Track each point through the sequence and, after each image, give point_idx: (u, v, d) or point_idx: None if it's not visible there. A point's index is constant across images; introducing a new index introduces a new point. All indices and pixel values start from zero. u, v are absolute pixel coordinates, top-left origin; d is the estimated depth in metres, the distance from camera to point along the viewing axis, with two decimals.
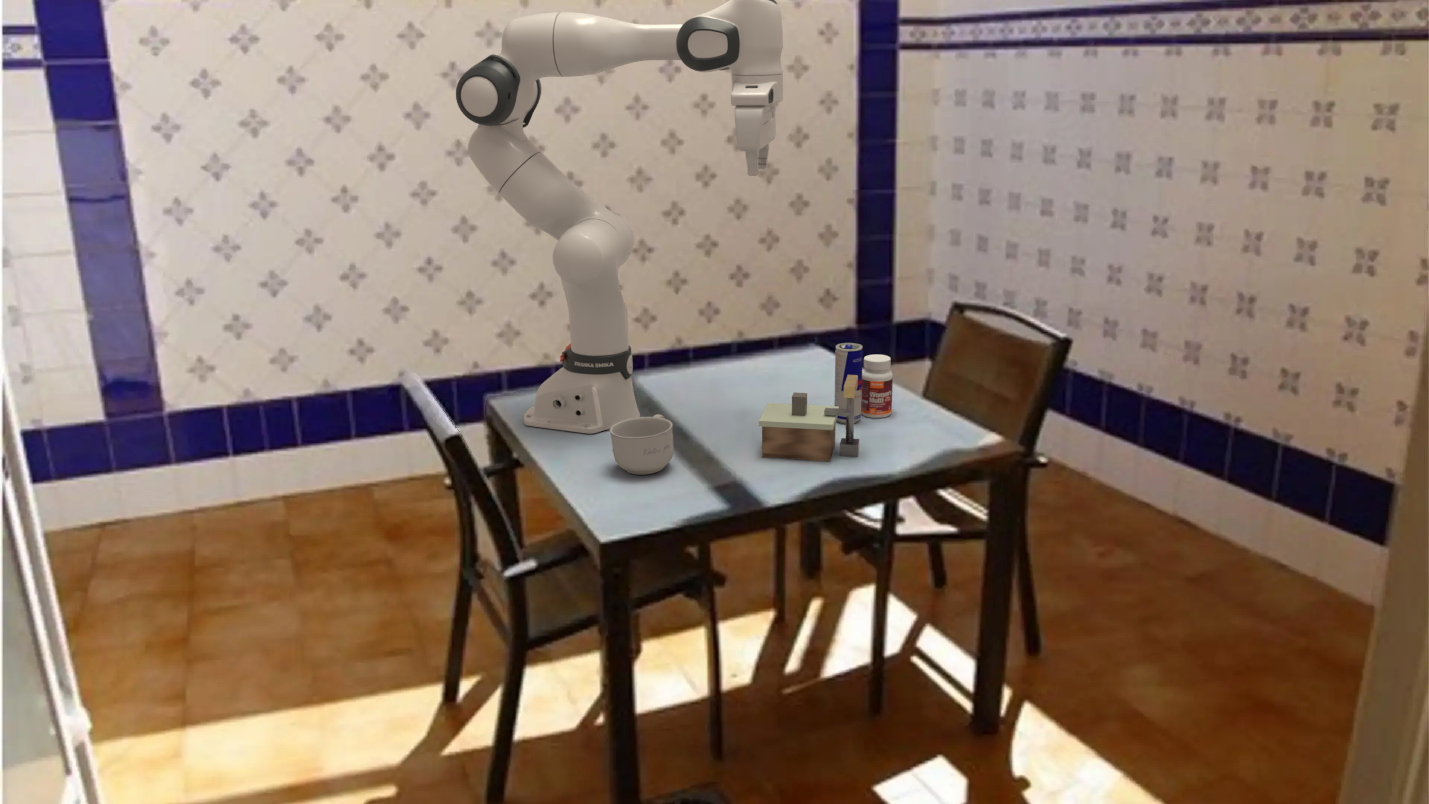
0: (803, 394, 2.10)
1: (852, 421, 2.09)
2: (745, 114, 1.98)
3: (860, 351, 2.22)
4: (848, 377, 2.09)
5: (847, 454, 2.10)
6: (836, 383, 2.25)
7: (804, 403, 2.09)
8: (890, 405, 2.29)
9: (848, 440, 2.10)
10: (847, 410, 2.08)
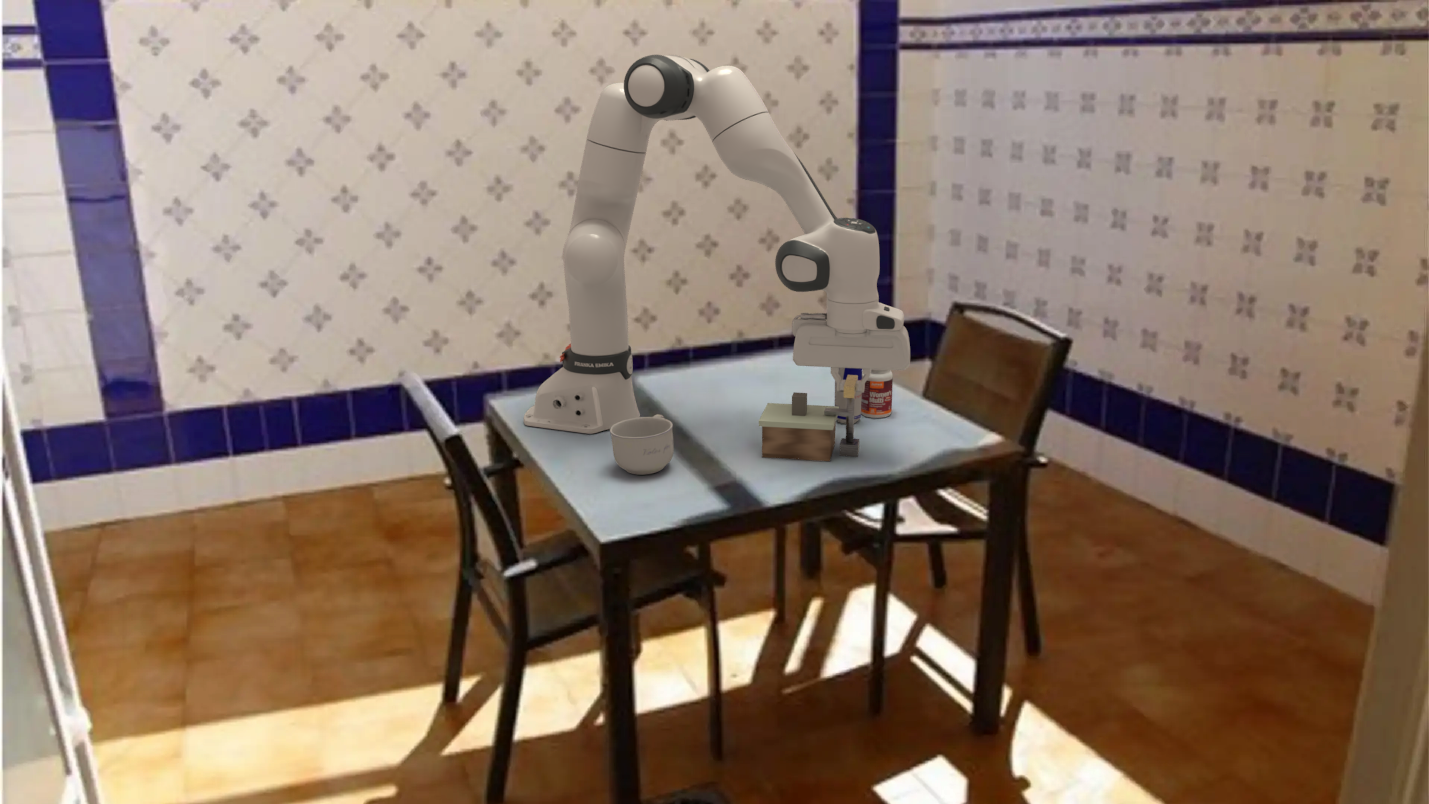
0: (803, 394, 2.10)
1: (852, 421, 2.09)
2: (906, 334, 2.02)
3: None
4: (848, 377, 2.09)
5: (847, 454, 2.10)
6: (836, 383, 2.25)
7: (804, 403, 2.09)
8: (890, 405, 2.29)
9: (848, 440, 2.10)
10: (847, 410, 2.08)
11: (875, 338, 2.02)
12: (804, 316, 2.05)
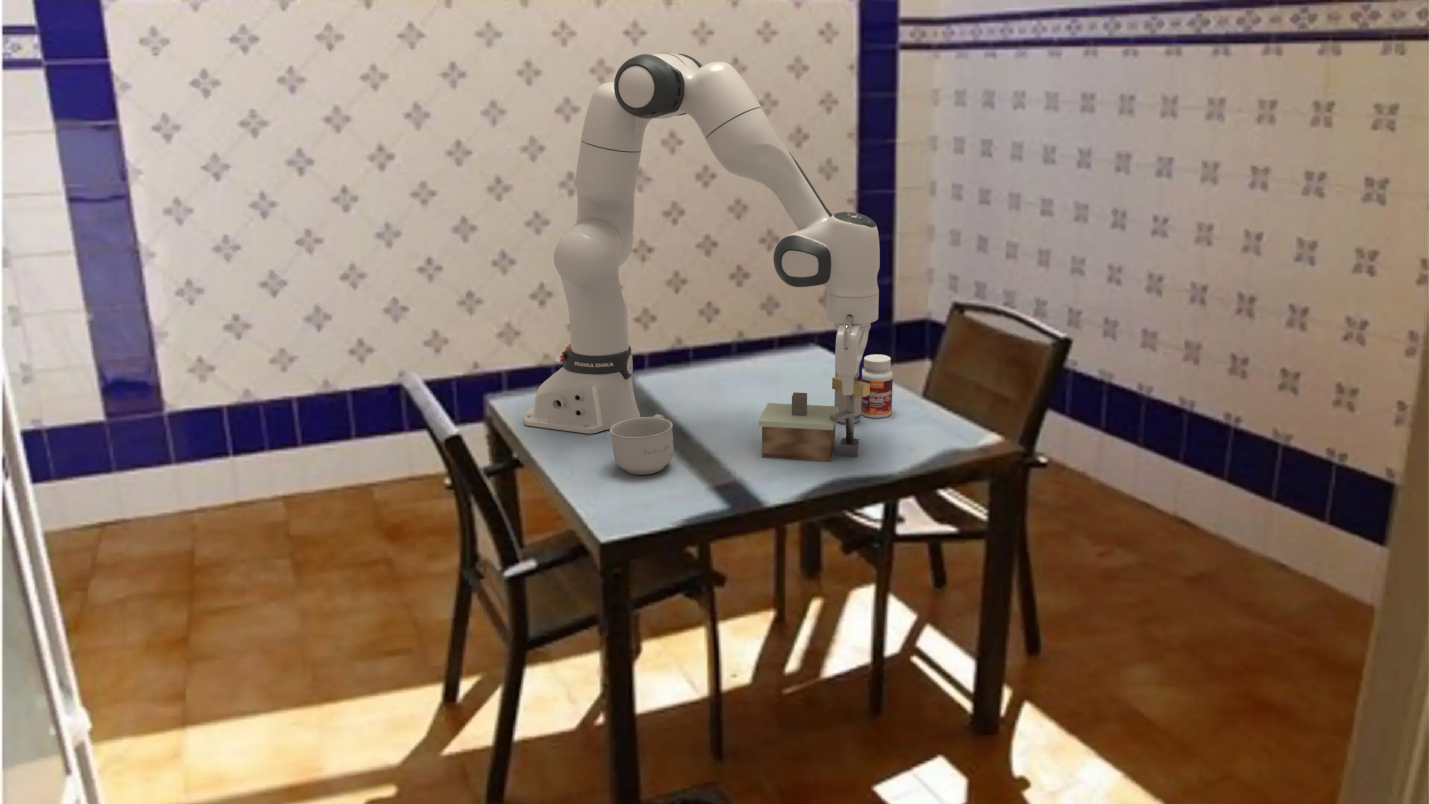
0: (803, 394, 2.10)
1: (853, 420, 2.09)
2: None
3: None
4: (840, 379, 2.08)
5: (847, 454, 2.10)
6: None
7: (804, 403, 2.09)
8: (890, 405, 2.29)
9: (852, 440, 2.10)
10: (850, 410, 2.08)
11: None
12: (850, 323, 1.95)
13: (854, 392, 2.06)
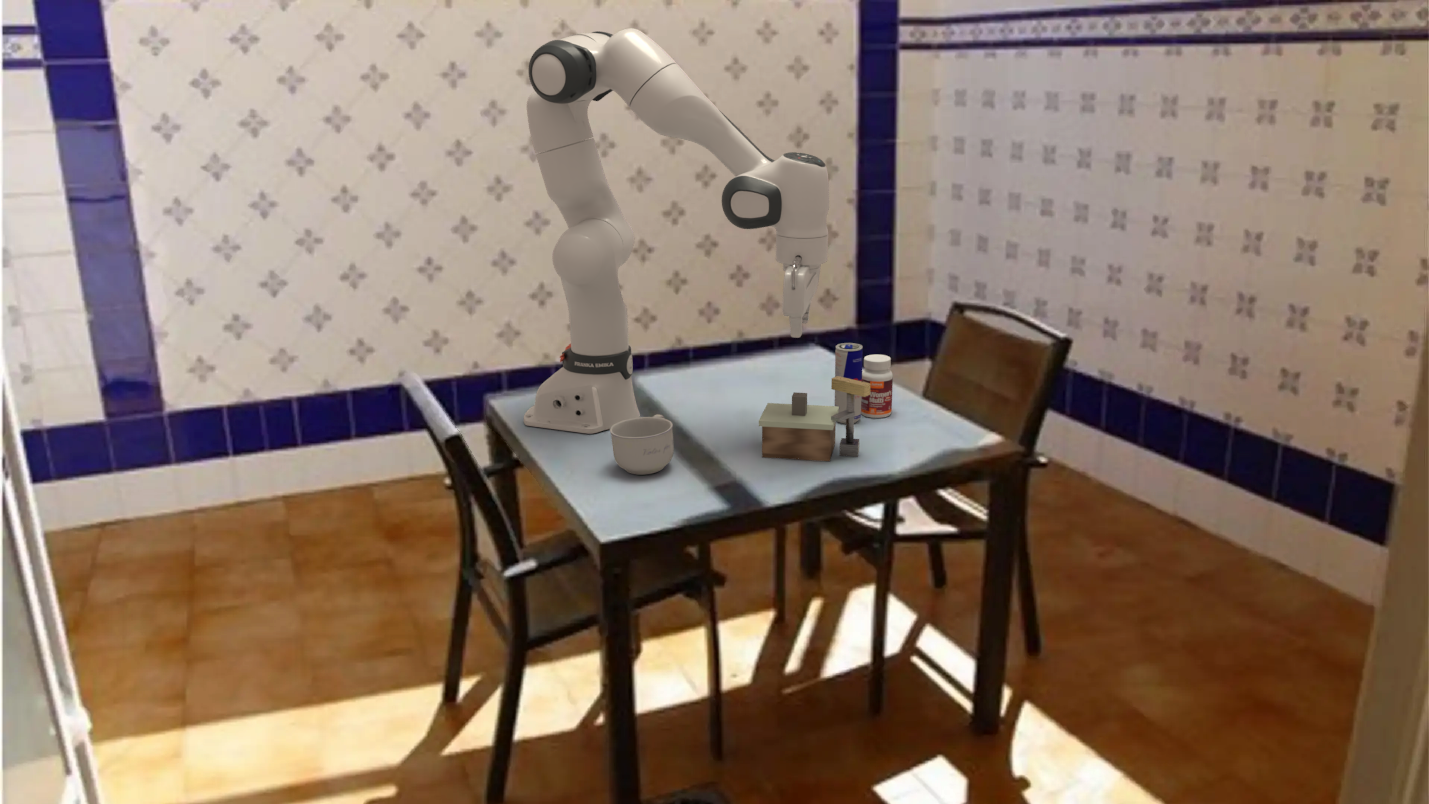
0: (803, 394, 2.10)
1: (853, 420, 2.09)
2: None
3: (860, 351, 2.22)
4: (839, 379, 2.08)
5: (847, 454, 2.10)
6: None
7: (804, 403, 2.09)
8: (890, 405, 2.29)
9: (852, 440, 2.10)
10: (851, 410, 2.08)
11: None
12: (798, 263, 1.94)
13: (855, 392, 2.06)
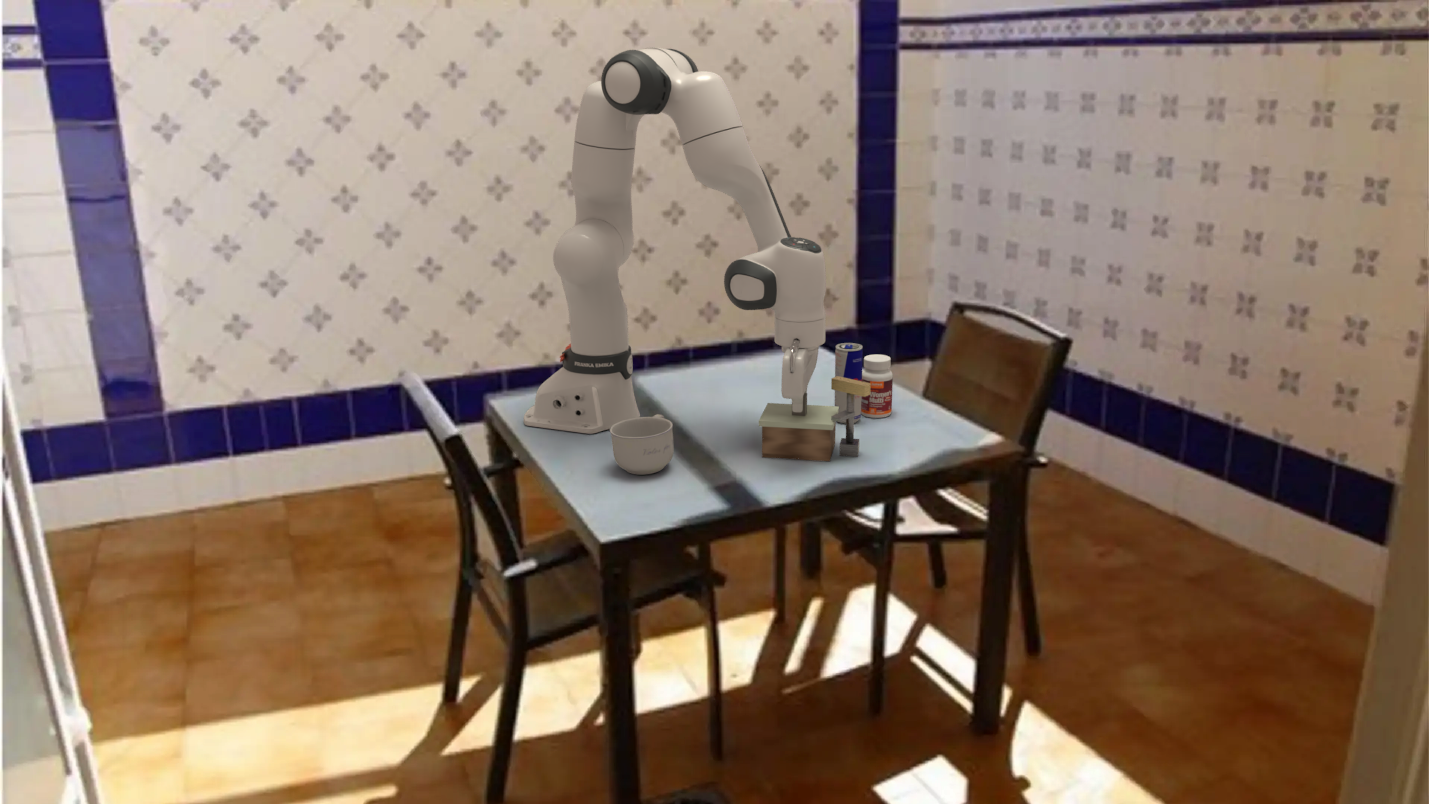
0: None
1: (853, 420, 2.09)
2: None
3: (860, 351, 2.22)
4: (839, 379, 2.08)
5: (847, 454, 2.10)
6: None
7: (804, 403, 2.09)
8: (890, 405, 2.29)
9: (852, 440, 2.10)
10: (851, 410, 2.08)
11: None
12: (796, 347, 1.99)
13: (855, 392, 2.06)
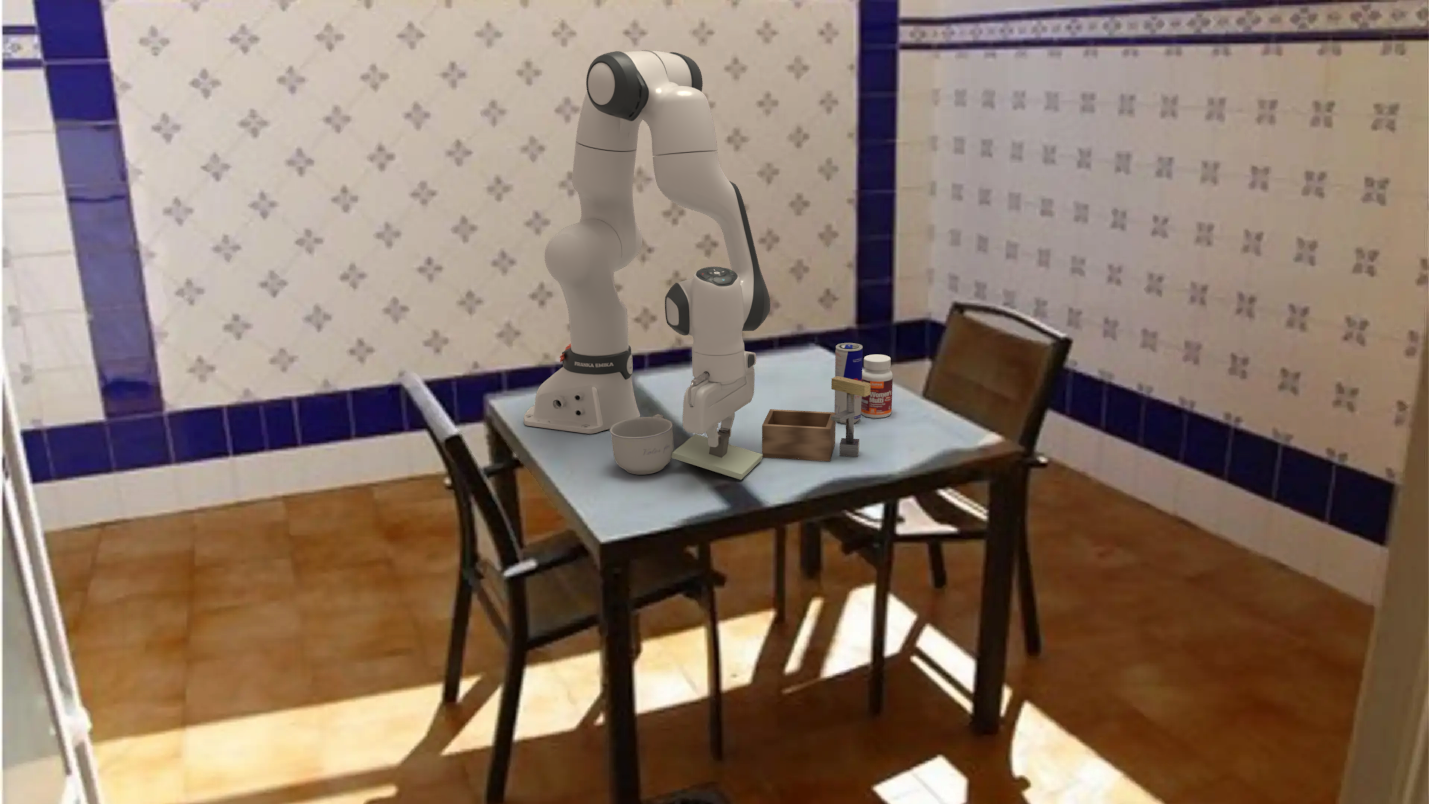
0: (724, 435, 2.04)
1: (853, 420, 2.09)
2: None
3: (860, 351, 2.22)
4: (839, 379, 2.08)
5: (847, 454, 2.10)
6: None
7: (722, 445, 2.03)
8: (890, 405, 2.29)
9: (852, 440, 2.10)
10: (851, 410, 2.08)
11: (738, 379, 2.04)
12: (698, 381, 1.93)
13: (855, 392, 2.06)
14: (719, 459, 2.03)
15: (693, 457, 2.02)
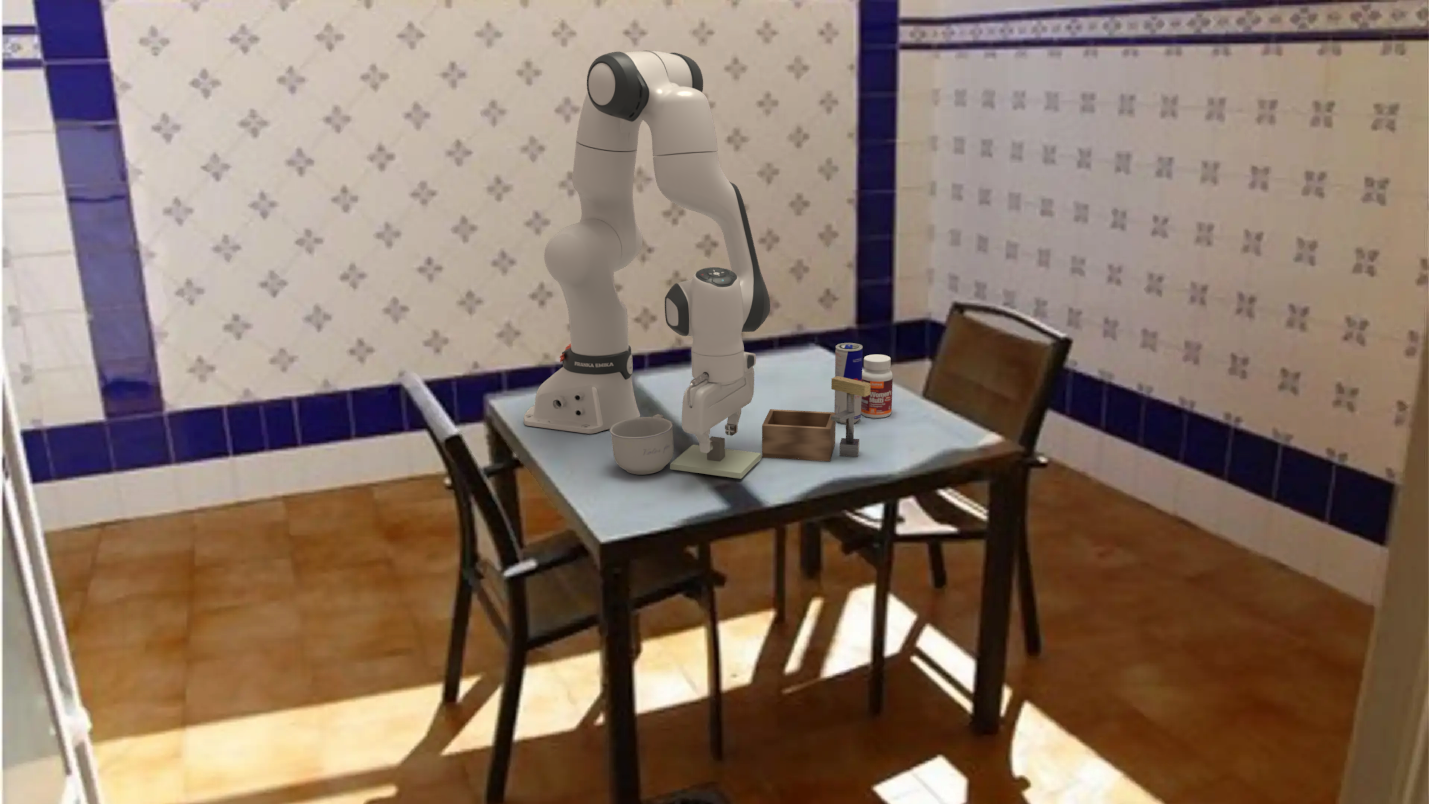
0: (719, 439, 2.05)
1: (853, 420, 2.09)
2: None
3: (860, 351, 2.22)
4: (839, 379, 2.08)
5: (847, 454, 2.10)
6: None
7: (718, 448, 2.04)
8: (890, 405, 2.29)
9: (852, 440, 2.10)
10: (851, 410, 2.08)
11: (738, 380, 2.04)
12: (697, 382, 1.93)
13: (855, 392, 2.06)
14: (717, 463, 2.03)
15: (691, 465, 2.03)
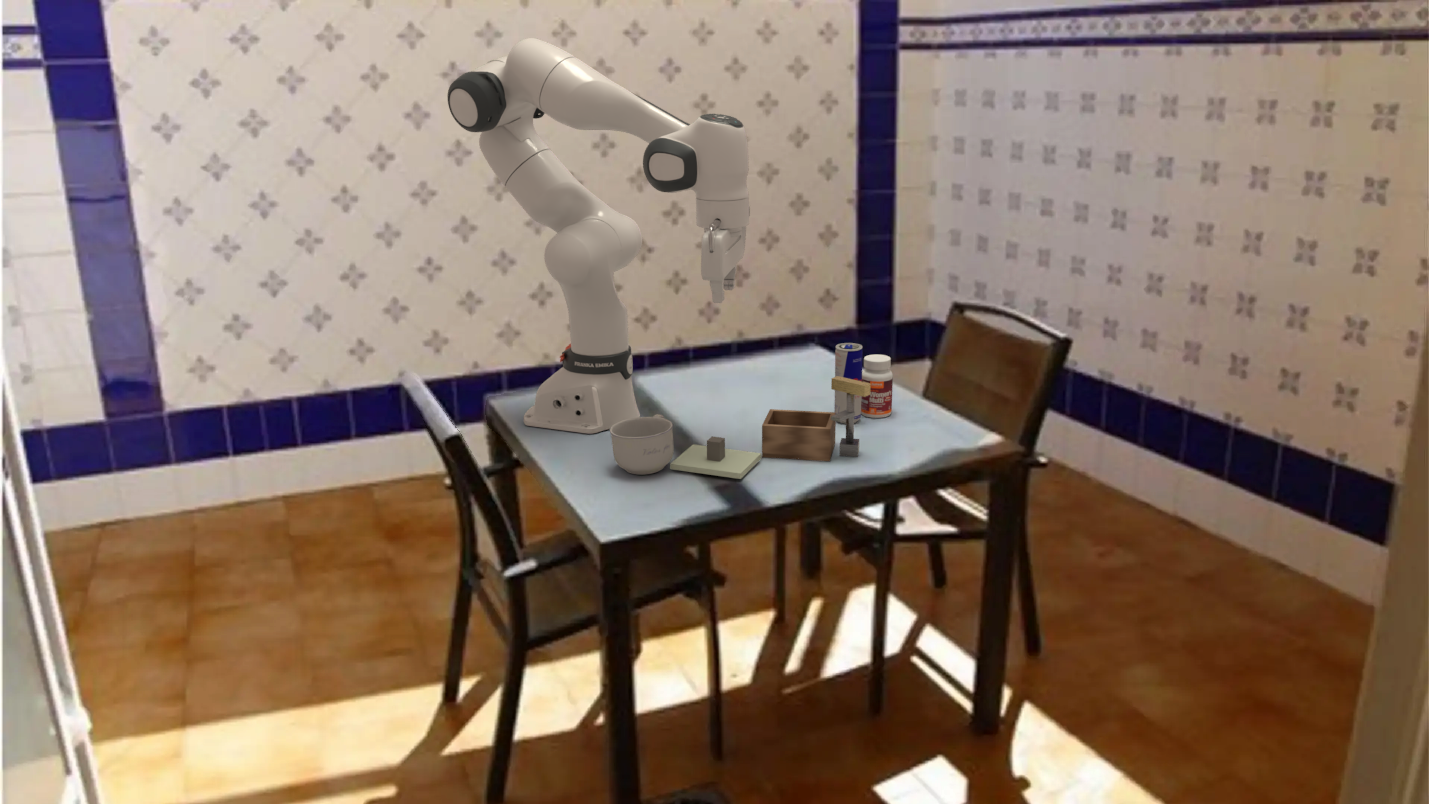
0: (719, 439, 2.05)
1: (853, 420, 2.09)
2: None
3: (860, 351, 2.22)
4: (839, 379, 2.08)
5: (847, 454, 2.10)
6: None
7: (718, 448, 2.04)
8: (890, 405, 2.29)
9: (852, 440, 2.10)
10: (851, 410, 2.08)
11: None
12: (716, 226, 1.90)
13: (855, 392, 2.06)
14: (717, 463, 2.03)
15: (691, 465, 2.03)
